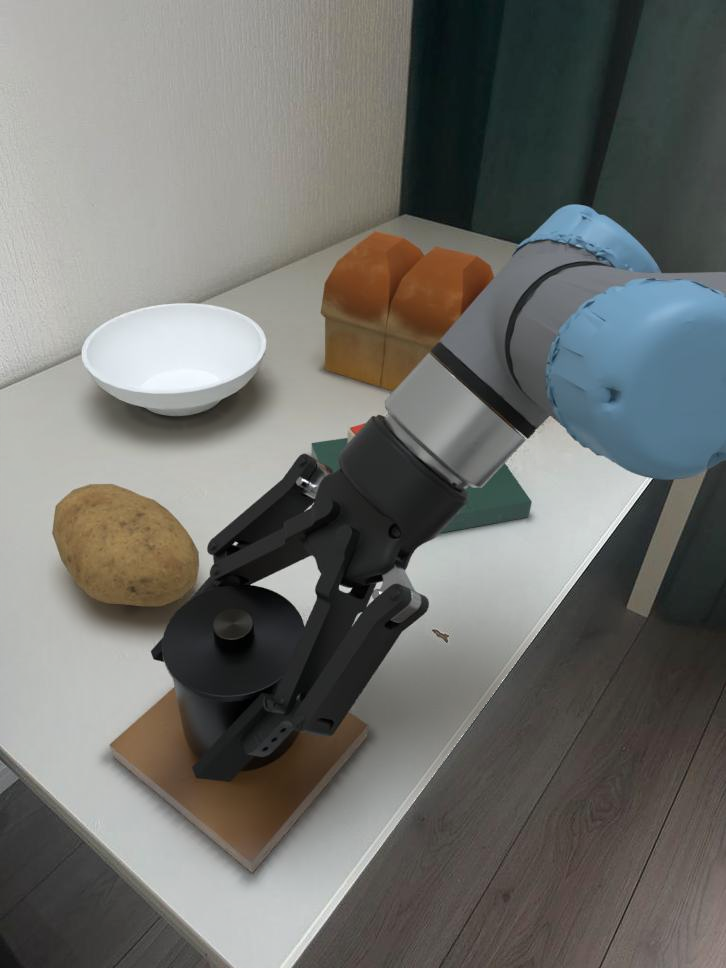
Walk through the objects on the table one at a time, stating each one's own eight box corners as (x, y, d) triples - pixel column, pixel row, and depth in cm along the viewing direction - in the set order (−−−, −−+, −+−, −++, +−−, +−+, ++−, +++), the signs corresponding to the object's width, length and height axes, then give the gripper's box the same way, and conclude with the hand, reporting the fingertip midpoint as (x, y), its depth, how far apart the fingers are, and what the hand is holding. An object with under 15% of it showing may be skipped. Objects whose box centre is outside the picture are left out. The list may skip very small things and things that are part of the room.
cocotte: (333, 712, 53) (334, 619, 47) (240, 803, 48) (228, 711, 41) (246, 645, 57) (237, 551, 51) (151, 722, 52) (128, 628, 45)
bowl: (184, 337, 98) (178, 287, 94) (303, 390, 90) (303, 337, 85) (55, 404, 86) (41, 350, 81) (180, 472, 77) (172, 416, 73)
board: (367, 736, 55) (368, 724, 54) (252, 873, 48) (251, 862, 47) (234, 647, 61) (232, 634, 60) (112, 756, 53) (108, 744, 52)
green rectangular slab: (533, 524, 73) (537, 507, 72) (334, 561, 68) (334, 544, 67) (471, 434, 84) (474, 417, 83) (296, 460, 80) (295, 443, 78)
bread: (320, 369, 93) (320, 252, 84) (367, 327, 102) (372, 216, 93) (517, 431, 85) (542, 308, 76) (550, 379, 94) (576, 263, 84)
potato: (144, 663, 59) (128, 593, 54) (37, 577, 66) (13, 506, 61) (236, 592, 65) (229, 522, 60) (130, 519, 72) (115, 450, 67)
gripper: (569, 593, 40) (292, 868, 45) (379, 388, 55) (184, 610, 59) (500, 550, 35) (193, 867, 39) (310, 336, 49) (101, 584, 54)
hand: (188, 713), depth 49 cm, fingers closed on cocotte, 9 cm apart
